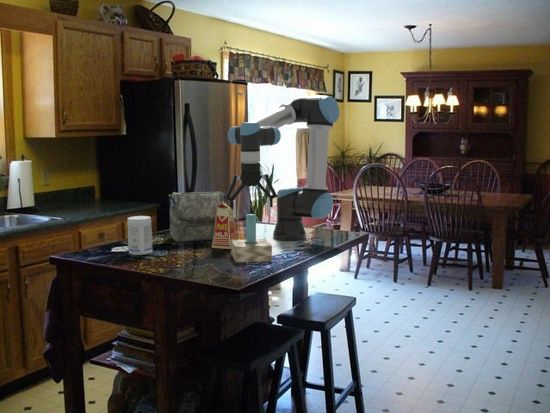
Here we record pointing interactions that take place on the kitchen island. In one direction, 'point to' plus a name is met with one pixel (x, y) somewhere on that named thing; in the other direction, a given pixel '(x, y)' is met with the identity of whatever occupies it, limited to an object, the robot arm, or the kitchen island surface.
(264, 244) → the bore block
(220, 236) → the milk carton
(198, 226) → the lunch bag
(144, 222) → the supplement tub
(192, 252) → the kitchen island surface
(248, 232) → the dowel
